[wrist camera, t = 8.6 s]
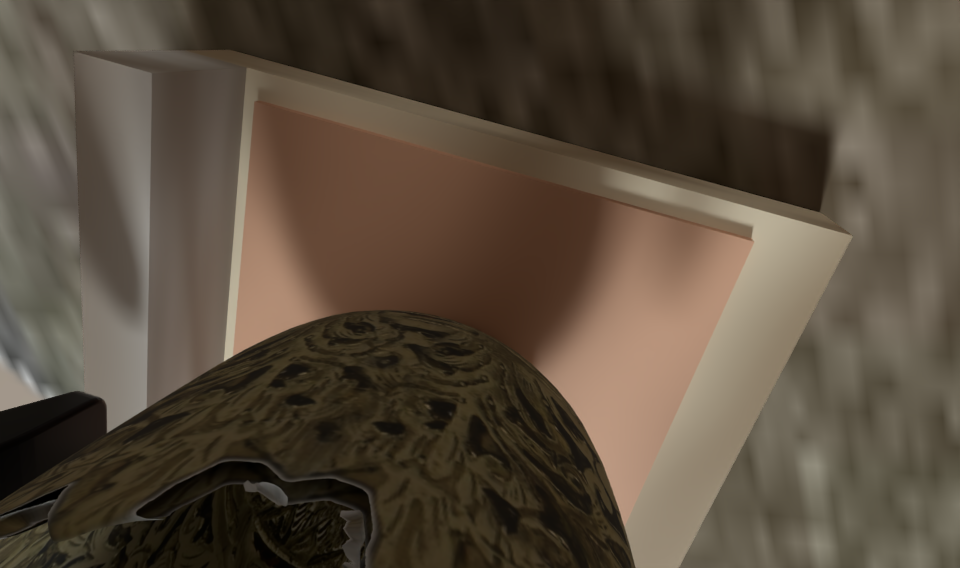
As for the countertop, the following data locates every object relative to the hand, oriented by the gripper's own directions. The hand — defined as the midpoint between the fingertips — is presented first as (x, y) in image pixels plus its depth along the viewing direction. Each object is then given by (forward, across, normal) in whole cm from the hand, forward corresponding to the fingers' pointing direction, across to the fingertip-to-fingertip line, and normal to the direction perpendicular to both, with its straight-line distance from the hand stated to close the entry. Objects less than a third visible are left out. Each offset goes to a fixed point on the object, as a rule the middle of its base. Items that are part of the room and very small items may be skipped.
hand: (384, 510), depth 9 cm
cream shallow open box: (+5, 0, 0) cm, 5 cm away
